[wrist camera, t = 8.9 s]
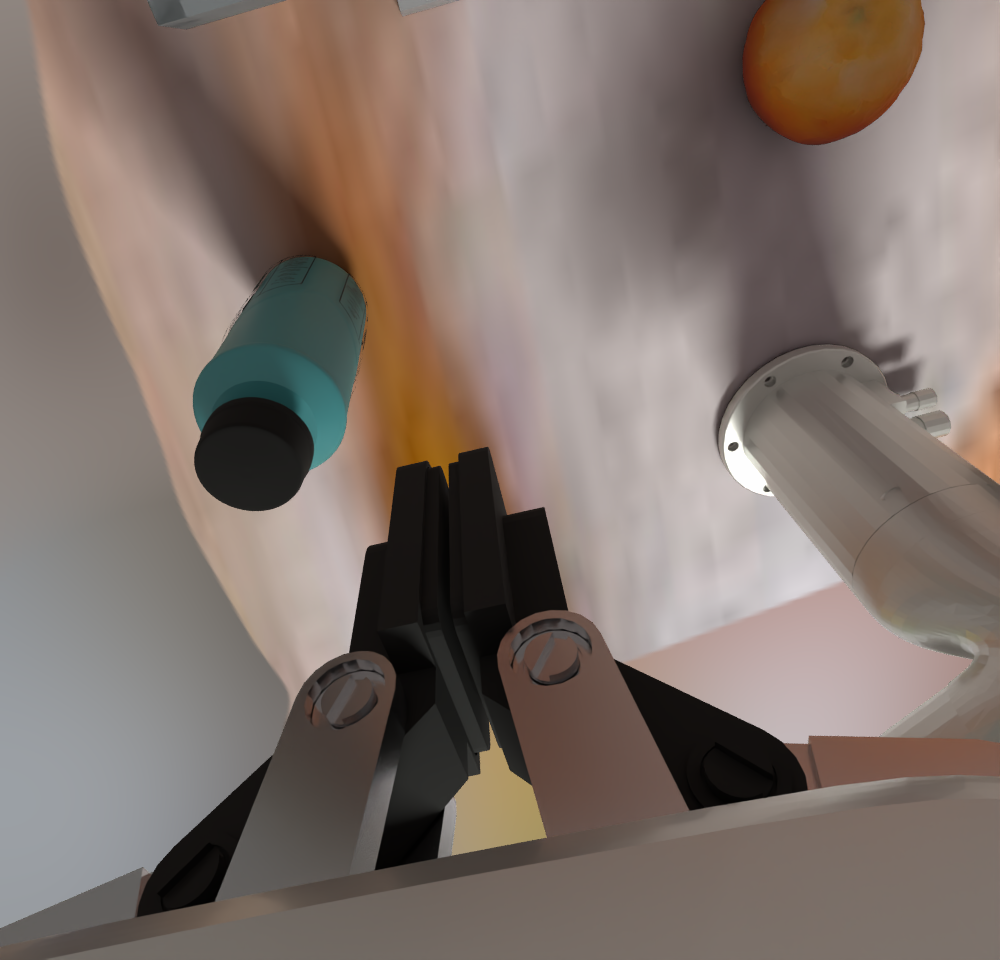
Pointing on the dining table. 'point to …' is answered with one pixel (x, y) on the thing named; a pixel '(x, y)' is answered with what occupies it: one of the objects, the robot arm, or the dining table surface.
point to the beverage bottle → (279, 385)
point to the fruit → (829, 64)
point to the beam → (239, 10)
